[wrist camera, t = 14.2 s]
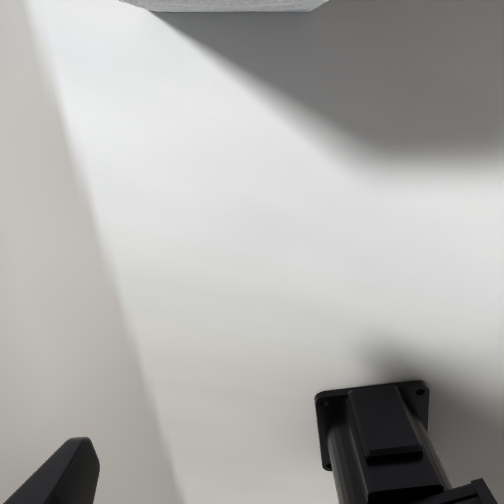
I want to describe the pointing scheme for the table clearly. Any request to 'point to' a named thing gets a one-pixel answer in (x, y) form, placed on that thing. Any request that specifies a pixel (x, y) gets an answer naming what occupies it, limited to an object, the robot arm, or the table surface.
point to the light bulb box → (227, 5)
